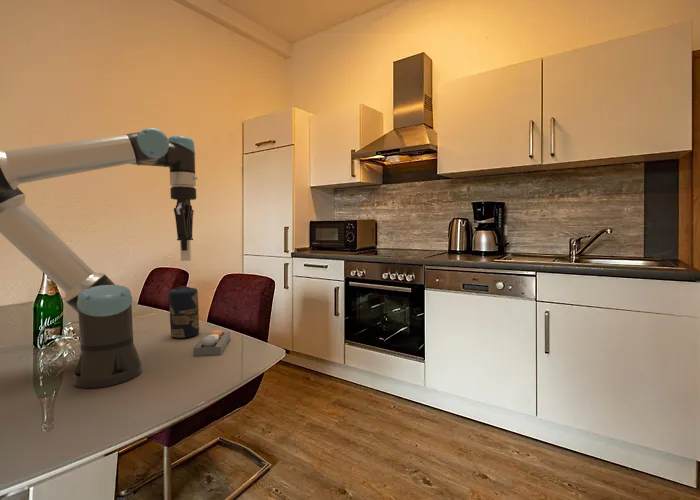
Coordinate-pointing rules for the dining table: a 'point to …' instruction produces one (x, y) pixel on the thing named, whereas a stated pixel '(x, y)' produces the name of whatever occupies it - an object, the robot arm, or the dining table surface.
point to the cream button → (215, 336)
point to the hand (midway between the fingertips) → (186, 260)
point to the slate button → (209, 341)
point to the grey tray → (214, 350)
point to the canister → (184, 312)
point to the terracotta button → (217, 332)
